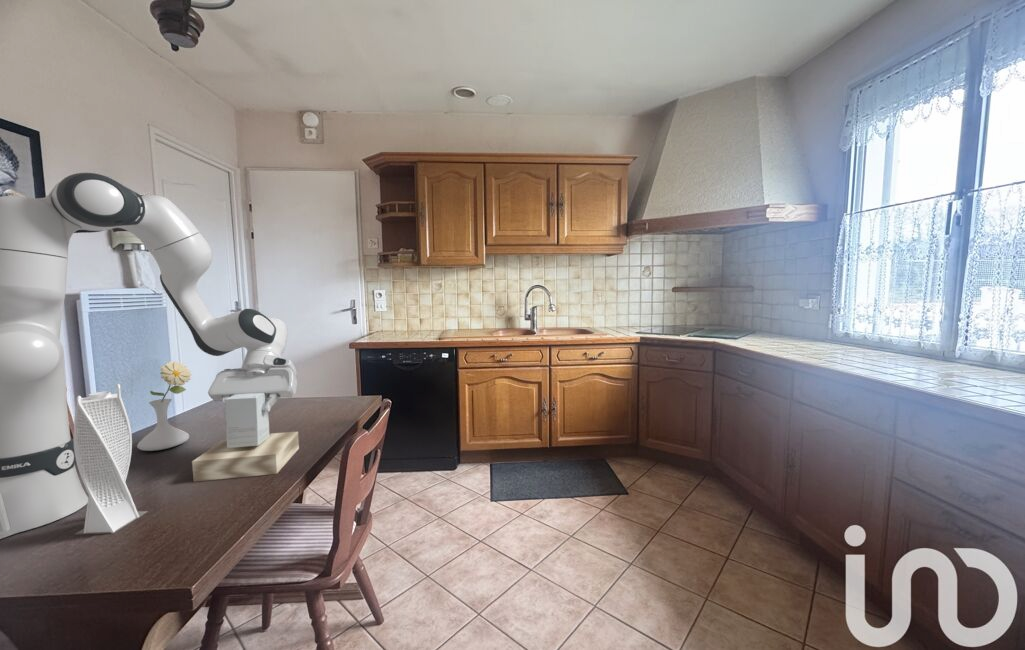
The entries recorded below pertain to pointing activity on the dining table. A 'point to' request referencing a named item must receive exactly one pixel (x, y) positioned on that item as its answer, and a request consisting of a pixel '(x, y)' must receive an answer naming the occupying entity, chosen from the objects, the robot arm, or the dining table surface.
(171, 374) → the flower in vase
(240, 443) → the supplement box
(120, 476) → the skyscraper
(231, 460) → the birch stand
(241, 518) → the dining table surface
